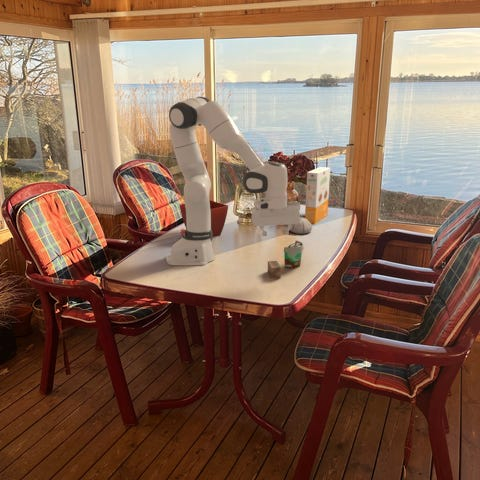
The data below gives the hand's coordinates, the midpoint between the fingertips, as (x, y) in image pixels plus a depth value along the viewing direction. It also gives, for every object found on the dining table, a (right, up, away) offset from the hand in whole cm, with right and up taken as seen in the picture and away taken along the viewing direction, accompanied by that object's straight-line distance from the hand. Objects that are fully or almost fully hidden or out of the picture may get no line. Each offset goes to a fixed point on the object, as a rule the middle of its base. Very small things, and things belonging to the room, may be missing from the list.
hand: (275, 235), depth 196 cm
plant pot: (-34, 0, +60) cm, 69 cm away
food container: (+10, -14, +16) cm, 23 cm away
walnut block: (0, -17, +6) cm, 18 cm away
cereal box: (+32, +10, +93) cm, 99 cm away
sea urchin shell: (+19, +2, +68) cm, 70 cm away
